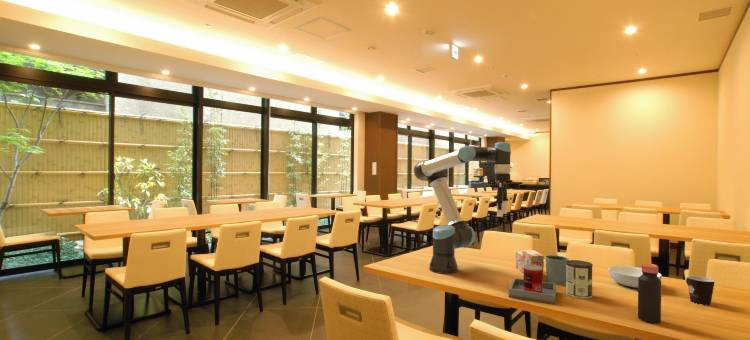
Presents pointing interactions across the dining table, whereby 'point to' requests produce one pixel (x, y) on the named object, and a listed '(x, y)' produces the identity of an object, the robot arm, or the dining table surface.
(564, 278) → the grey cylinder
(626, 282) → the serving bowl
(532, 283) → the canned food
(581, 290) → the coffee can
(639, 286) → the bottle
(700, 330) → the dining table surface
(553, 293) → the tray
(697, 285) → the coffee mug
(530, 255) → the white food box
